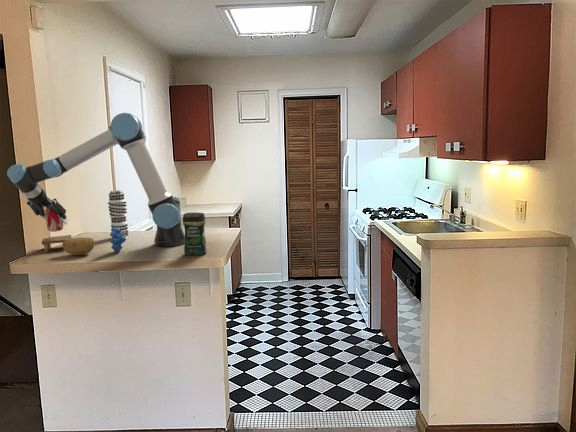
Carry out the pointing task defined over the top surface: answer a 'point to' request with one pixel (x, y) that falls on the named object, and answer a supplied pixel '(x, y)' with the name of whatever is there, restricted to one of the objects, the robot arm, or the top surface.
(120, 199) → the decorative candle
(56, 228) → the soda can
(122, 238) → the grapes
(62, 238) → the shelf stand
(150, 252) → the top surface
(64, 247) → the potato
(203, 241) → the coffee jar
